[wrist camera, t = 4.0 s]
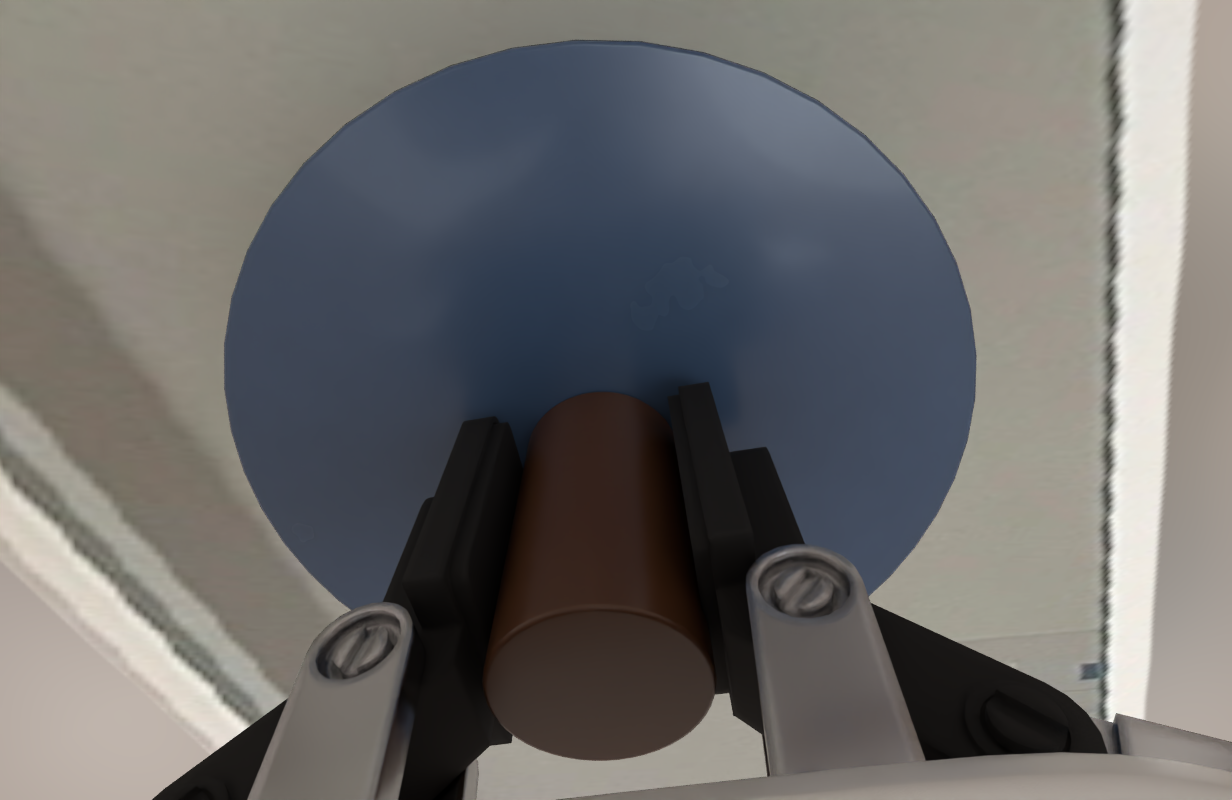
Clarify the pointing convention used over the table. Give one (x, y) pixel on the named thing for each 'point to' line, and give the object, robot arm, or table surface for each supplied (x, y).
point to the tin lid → (596, 352)
